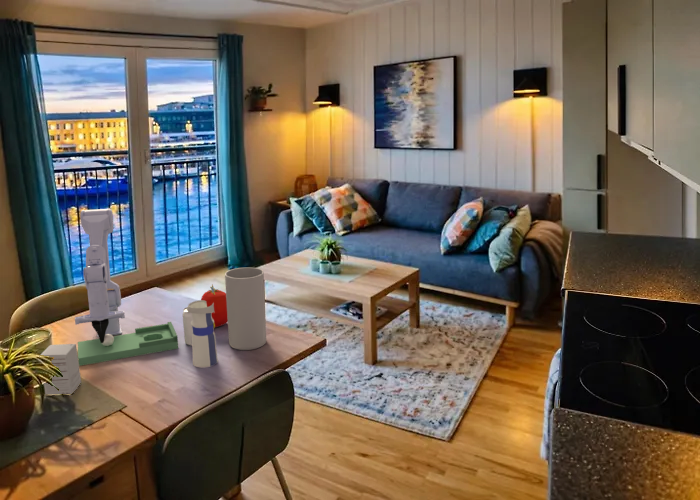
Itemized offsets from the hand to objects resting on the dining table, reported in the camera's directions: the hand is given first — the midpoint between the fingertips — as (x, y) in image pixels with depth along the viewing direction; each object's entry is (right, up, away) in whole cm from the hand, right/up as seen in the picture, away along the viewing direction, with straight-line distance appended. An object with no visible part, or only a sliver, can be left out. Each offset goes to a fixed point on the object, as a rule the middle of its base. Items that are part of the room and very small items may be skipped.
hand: (102, 341), depth 183 cm
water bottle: (+34, -6, -5) cm, 35 cm away
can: (+27, -2, +10) cm, 29 cm away
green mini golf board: (+6, -3, +5) cm, 9 cm away
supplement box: (-1, -10, -22) cm, 24 cm away
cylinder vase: (+45, -2, +9) cm, 46 cm away
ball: (+1, 0, +1) cm, 2 cm away
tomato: (+31, +2, +24) cm, 40 cm away
